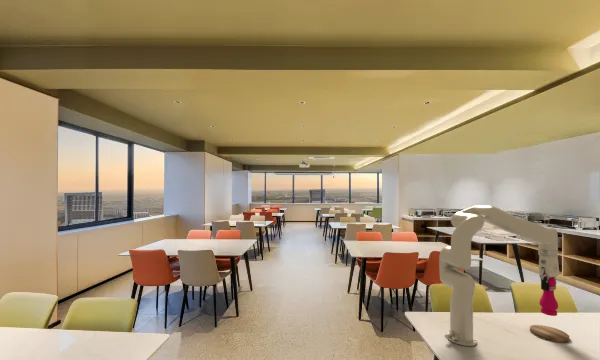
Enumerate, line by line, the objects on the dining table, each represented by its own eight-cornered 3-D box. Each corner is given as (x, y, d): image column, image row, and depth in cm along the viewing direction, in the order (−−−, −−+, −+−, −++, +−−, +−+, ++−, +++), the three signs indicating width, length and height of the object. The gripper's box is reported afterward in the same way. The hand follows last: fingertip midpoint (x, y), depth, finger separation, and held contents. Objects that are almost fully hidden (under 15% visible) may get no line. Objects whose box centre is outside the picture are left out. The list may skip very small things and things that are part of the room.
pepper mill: (562, 317, 143) (561, 275, 144) (544, 315, 145) (544, 274, 145) (552, 311, 150) (551, 271, 151) (536, 309, 152) (535, 270, 152)
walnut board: (561, 345, 137) (561, 342, 137) (523, 331, 150) (523, 328, 150) (575, 338, 144) (575, 335, 144) (538, 325, 157) (538, 322, 157)
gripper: (548, 255, 141) (549, 294, 140) (565, 252, 149) (565, 288, 149) (530, 252, 148) (531, 289, 147) (547, 249, 156) (547, 284, 155)
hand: (548, 288), depth 148 cm, fingers closed on pepper mill, 6 cm apart
